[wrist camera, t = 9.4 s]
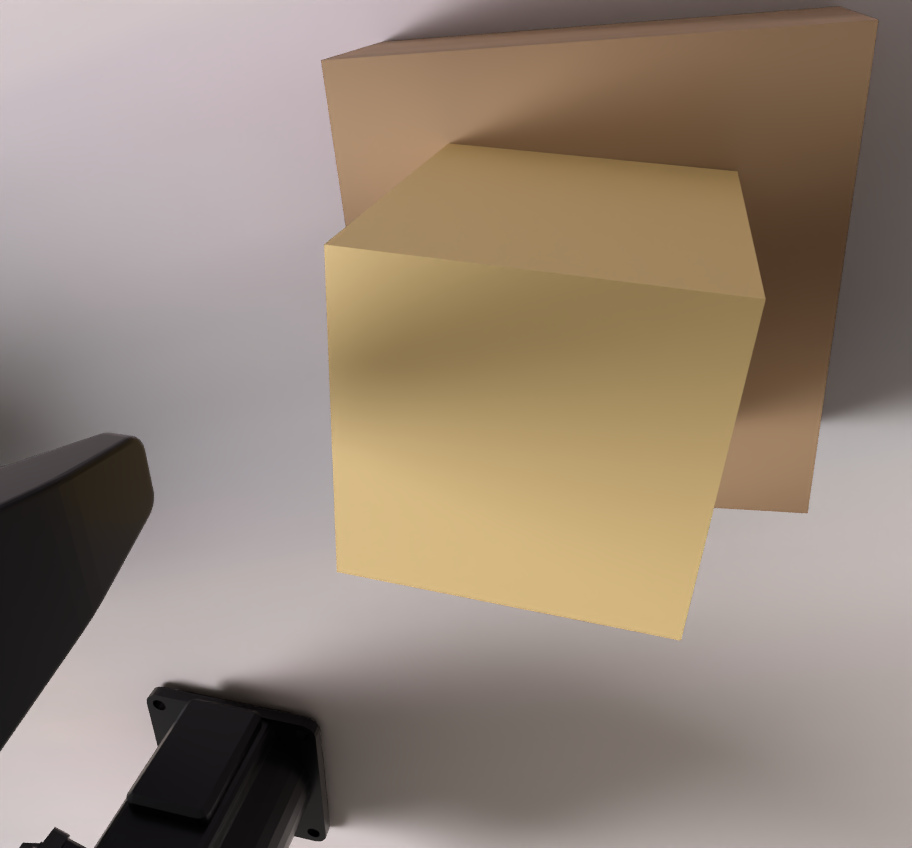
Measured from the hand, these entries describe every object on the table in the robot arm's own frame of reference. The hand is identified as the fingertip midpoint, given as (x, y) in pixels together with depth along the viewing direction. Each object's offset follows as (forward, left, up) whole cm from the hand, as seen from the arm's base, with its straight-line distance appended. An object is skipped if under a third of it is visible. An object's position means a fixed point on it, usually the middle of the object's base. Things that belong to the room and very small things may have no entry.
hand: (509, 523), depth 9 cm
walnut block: (0, 0, -12) cm, 12 cm away
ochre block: (0, 0, -8) cm, 8 cm away
